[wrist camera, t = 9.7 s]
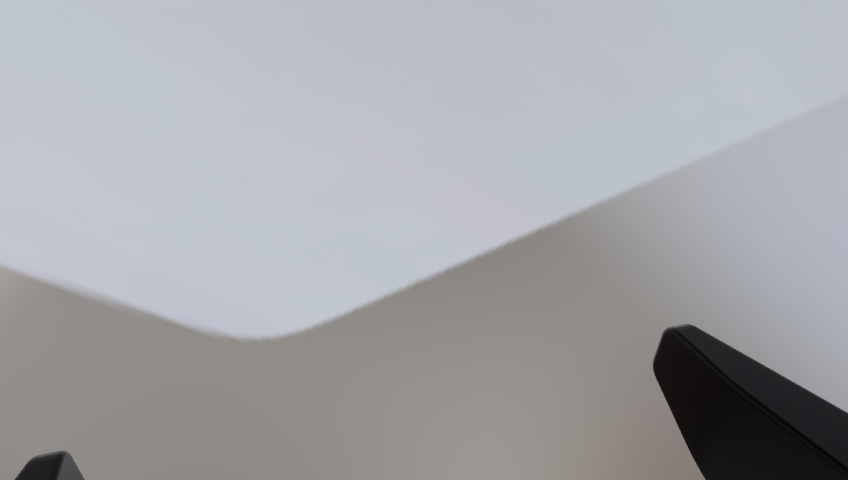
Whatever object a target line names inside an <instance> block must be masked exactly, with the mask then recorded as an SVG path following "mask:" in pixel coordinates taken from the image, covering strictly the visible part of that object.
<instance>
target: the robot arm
mask: <svg viewBox="0 0 848 480" xmlns="http://www.w3.org/2000/svg"><path fill="white" fill-rule="evenodd" d="M653 370H654V374H655V376H656V379H657V381H658V383H659V386H660V388H661V390H662V392H663V394H664V396H665V399H666V401H667V403H668V405H669V407H670V410H671V412H672V414H673V416H674V418H675V420H676V423H677V425H678V427H679V429H680V431H681V434H682V436H683V438H684V440H685V442H686V444H687V446H688V448H689V450H690V453H691V455H692V457H693V458H694V460H695V462H696V464H697V466H698V467H699V469H700V471H701V473H702V474H703V476H704V477H705V479H706V480H848V413H847V412H845V411H843V410H841V409H840V408H838V407H836V406H834V405H833V404H831V403H829V402H827V401H826V400H824V399H822V398H820V397H819V396H817V395H815V394H813V393H812V392H810V391H808V390H806V389H804V388H803V387H801V386H799V385H798V384H796V383H794V382H792V381H791V380H789V379H787V378H785V377H784V376H782V375H780V374H778V373H776V372H775V371H773V370H771V369H769V368H767V367H766V366H764V365H762V364H760V363H759V362H757V361H755V360H753V359H752V358H750V357H748V356H746V355H745V354H743V353H741V352H739V351H738V350H736V349H734V348H732V347H731V346H729V345H727V344H725V343H724V342H722V341H720V340H718V339H717V338H715V337H713V336H711V335H709V334H708V333H706V332H704V331H702V330H701V329H699V328H697V327H695V326H693V325H690V324H684V325H678V326H673V327H669V328H667V329H666V330H664V332H663V334H662V337H661V340H660V342H659V345H658V348H657V351H656V354H655V356H654V359H653ZM15 480H84V478H83V476H82V474H81V473H80V471H79V469H78V467H77V465H76V463H75V462H74V460H73V458H72V456H71V455H70V454H69V453H68V452H66V451H57V452H52V453H48V454H42V455H38V456H35V457H34V458H32V459H31V460H30V461H29V462H28V463H27V464H26V465H25V467H24V468H23V470H22V471H21V472H20V473H19V475H18V476H17V477H16V479H15Z"/></svg>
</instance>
